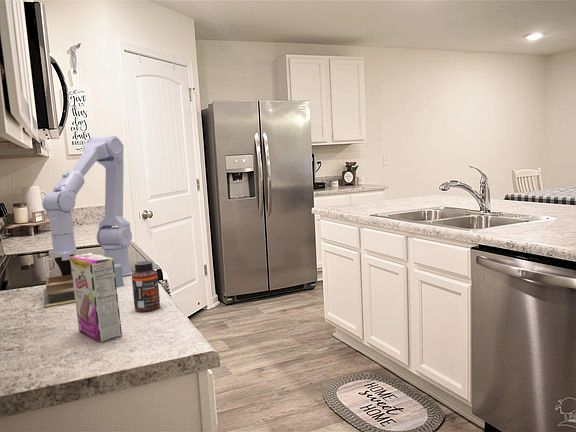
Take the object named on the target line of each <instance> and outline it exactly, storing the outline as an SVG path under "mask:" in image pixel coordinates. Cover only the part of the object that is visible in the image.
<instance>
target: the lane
mask: <svg viewBox="0 0 576 432" xmlns="http://www.w3.org/2000/svg"><path fill="white" fill-rule="evenodd" d="M70 304H76V302H75V293H74V291H69V292H63V293H57V294H53V302H50V303H49V299H48V295H47V291H46V288H44V290H43V309H47V308H53V307H58V306H59V307H60V306H65V305H70Z"/></svg>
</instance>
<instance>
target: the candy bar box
mask: <svg viewBox="0 0 576 432" xmlns="http://www.w3.org/2000/svg"><path fill="white" fill-rule="evenodd" d="M70 264H71V272H72V279H73V287H74V293H75V302H76V303H75V308H76V310H75V311H76V316H77V324H78V330H79V332H81V333H83V334H85V335H86V336H88V337H89V338H92V339H94V340H95V341H97V342H99V343H104V342H107V341H111V340H114V339H116V338H119V337H122V336H123V333H122V323H121V316H120V315H121V314H120V307H119V298H118V297H119V296H118V289H117V288H118V287H116V279H115V271H114V262H113V258H109V257H105V256H104V255H101V254H98V253H93V252H86V253H81V254H75V255H74V256H71V257H70Z"/></svg>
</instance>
